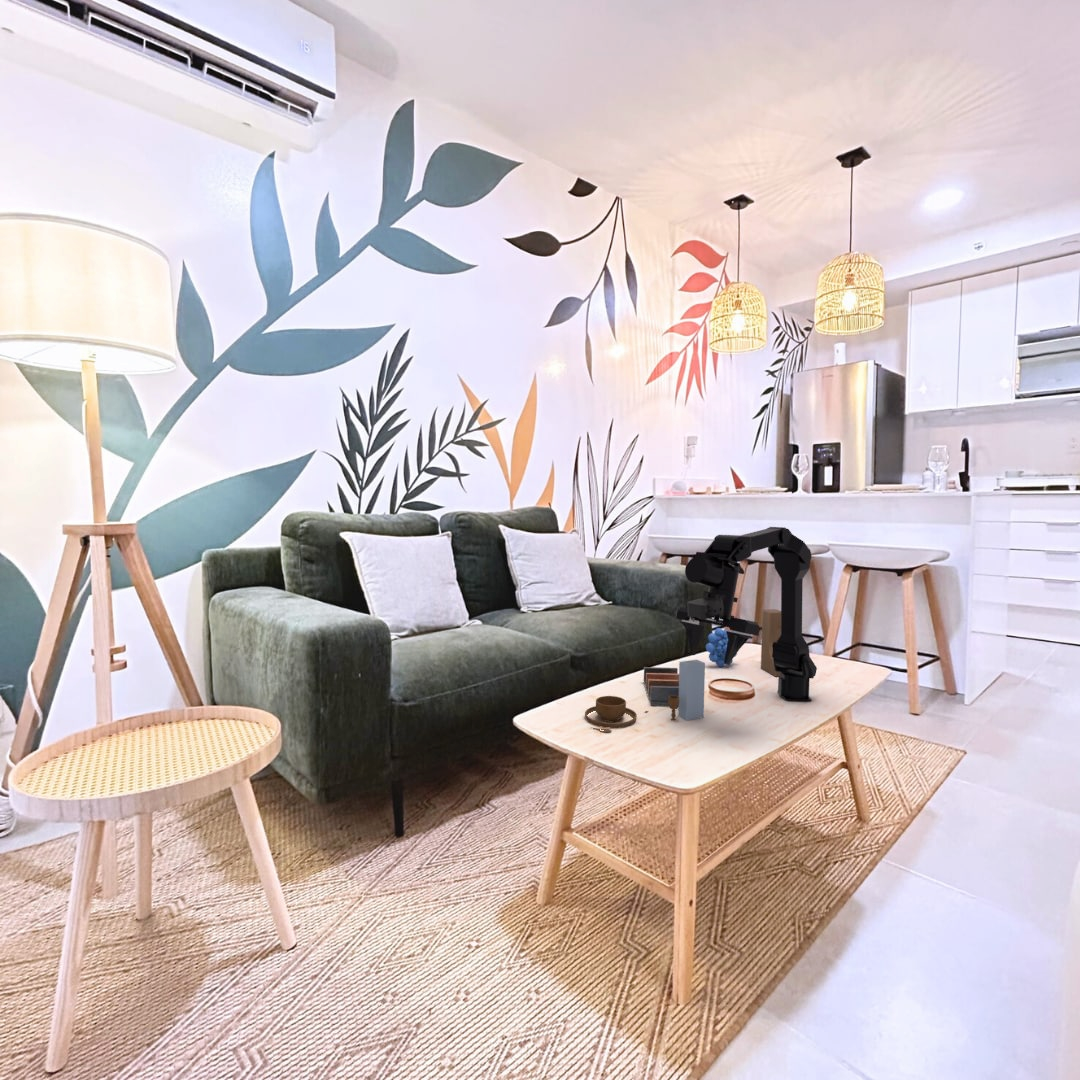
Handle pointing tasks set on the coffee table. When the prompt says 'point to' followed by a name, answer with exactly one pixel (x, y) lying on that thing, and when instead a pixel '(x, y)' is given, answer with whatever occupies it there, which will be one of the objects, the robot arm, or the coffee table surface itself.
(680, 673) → the blue-gray rectangular block
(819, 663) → the coffee table surface
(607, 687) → the coffee table surface
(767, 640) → the wooden block
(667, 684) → the rack
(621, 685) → the coffee table surface
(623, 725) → the place setting
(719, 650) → the grapes
